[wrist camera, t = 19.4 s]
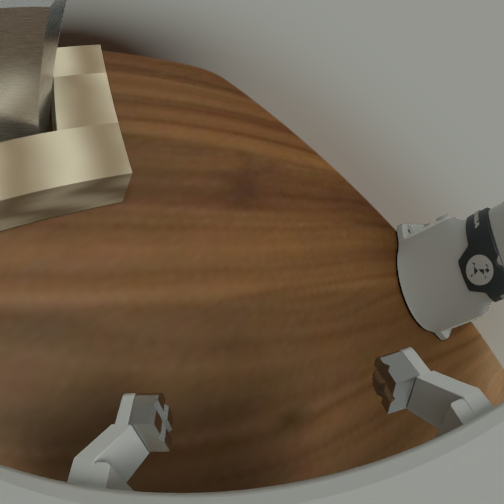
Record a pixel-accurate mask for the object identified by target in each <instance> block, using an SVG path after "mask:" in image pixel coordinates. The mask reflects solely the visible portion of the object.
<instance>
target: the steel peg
mask: <svg viewBox="0 0 504 504" xmlns="http://www.w3.org/2000/svg"><path fill="white" fill-rule="evenodd" d="M66 1H67V0H0V142H4V141H8V140H12V139H17V138H21V137H26V136H31V135H36V134H41V133H47V131H48V128H49V124H50V107H51V93H52V83H53V73H54V65H55V58H56V51H57V44H58V39H59V34H60V28H61V23H62V19H63V14H64V9H65V5H66Z"/></svg>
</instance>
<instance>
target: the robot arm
mask: <svg viewBox="0 0 504 504" xmlns="http://www.w3.org/2000/svg"><path fill="white" fill-rule="evenodd" d="M397 235H398V241H399V249H398V256H397V265H398V275H399V280H400V284H401V288H402V292H403V295H404V298H405V300H406V303H407V305H408V307H409V309H410V311H411V313H412V315H413V317H414V318H415V320H416V321H417V322H418V323H419V324H420V325H421V326H422V327H423V328H424V329H426V330H428V331H431V332H434V333H435V334H436V335H437V336H438V337H439V338H440V339H441V340H445V339H447V338H448V337H449V335H450V333H451V330H452V328H455V327H457V326H460V325H463V324H465V323H468V322H470V321H473V320H475V319H478V318H480V317H482V316H484V315H485V314H486V312H487V310H488V308H489V305H490V303H491V302H492V301H494V302H497V301H499V300H502V299H504V202H503V203H501V204H499V205H497V206H496V207H494V208H492V209H490V208H485V209H483V210H479V211H477V212H476V213H475V214H473V215H471V216H469V217H468V218H467V220H458V219H456V218H451V217H449V216H448V215H444V216H441V217H439V218H438V219H437V221H436V222H435V223H433V224H401V225H399V226H398V227H397ZM375 366H376V368H377V369H376V370H375V371H374V372H373V378H372V380H373V386H374V390H375V392H376V394H377V395H379V396H381V397H382V401H381V403H382V405H383V407H384V408H385V410H386V412H387V414H390V413H393V412H396V411H399V410H402V409H405V408H407V410H409V411H410V412H412V413H413V414H415V415H417V416H418V417H420V418H421V419H423V420H425V421H426V422H428V423H429V424H431V425H433V426H434V427H436V428H438V429H439V430H438V432H437V434H436V436H435V438H434V439H432V440H430V441H427V442H425V443H423V444H420V445H418V446H416V447H413V448H411V449H408V450H406V451H403V452H400V453H398V454H395V455H392V456H390V457H387V458H384V459H381V460H378V461H375V462H372V463H369V464H366V465H362V466H359V467H356V468H352V469H349V470H345V471H341V472H338V473H334V474H330V475H326V476H321V477H317V478H312V479H308V480H303V481H298V482H292V483H287V484H281V485H275V486H268V487H261V488H253V489H244V490H234V491H221V492H202V493H157V492H138V491H134V490H133V489H132V488H131V487H130V486H129V485H128V484H127V481H128V480H129V479H130V478H131V476H132V475H133V474H134V472H135V471H136V470H137V469H138V467H139V466H140V465H141V463H142V462H143V461H144V459H145V458H146V457H147V456H148V454H149V452H163V451H170V446H171V436H170V434H169V432H170V431H171V429H172V424H173V421H172V414H171V410H170V408H169V406H167V405H166V404H165V397H164V395H163V393H125V394H124V395H123V396H122V400H121V403H120V407H119V410H118V414H117V418H116V422H115V424H111V425H110V426H109V427H108V428H107V429H106V430H105V431H104V432H102V433H101V434H100V435H99V436H98V437H97V438H96V439H95V440H94V441H92V442H91V443H90V444H89V445H88V446H87V447H86V448H85V449H83V450H82V451H81V452H80V453H79V454H78V455H77V456H76V457H74V460H73V463H72V467H71V470H70V474H69V477H68V481H67V482H64V481H59V480H55V479H50V478H46V477H42V476H38V475H34V474H30V473H27V472H23V471H20V470H17V469H13V468H10V467H7V466H4V465H0V504H504V402H502V403H500V404H499V405H497V406H495V407H493V406H492V404H491V403H490V402H489V400H488V399H487V398H486V397H485V395H484V394H483V393H482V392H481V390H480V389H479V388H476V387H474V386H471V385H468V384H466V383H463V382H461V381H458V380H456V379H453V378H451V377H448V376H446V375H443V374H441V373H438V372H436V371H430V370H429V369H428V367H427V366H426V365H425V363H424V362H423V361H422V360H421V358H420V357H419V356H418V354H417V353H416V352H415V351H414V349H413V348H411V347H409V348H406V349H403V350H400V351H396V352H393V353H390V354H386V355H383V356H379V357H377V358H376V360H375Z"/></svg>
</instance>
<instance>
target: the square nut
mask: <svg viewBox="0 0 504 504" xmlns="http://www.w3.org/2000/svg"><path fill="white" fill-rule="evenodd" d="M50 110H51V118H52V130H53V131H52V132H47V133H41V134H36V135H31V136H26V137H21V138H17V139H12V140H8V141H4V142H0V231H2V230H6V229H9V228H13V227H17V226H20V225H24V224H28V223H32V222H36V221H40V220H44V219H48V218H52V217H56V216H60V215H64V214H68V213H73V212H77V211H82V210H86V209H91V208H95V207H100V206H105V205H110V204H114V203H119V202H123V199H124V196H125V193H126V190H127V187H128V184H129V181H130V178H131V175H132V170H131V167H130V163H129V160H128V157H127V153H126V150H125V146H124V143H123V139H122V135H121V132H120V128H119V124H118V120H117V116H116V113H115V109H114V105H113V100H112V96H111V92H110V88H109V84H108V79H107V75H106V70H105V65H104V61H103V56H102V51H101V46H100V45H88V46H72V47H61V48H57V51H56V58H55V65H54V73H53V83H52V93H51V107H50Z"/></svg>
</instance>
